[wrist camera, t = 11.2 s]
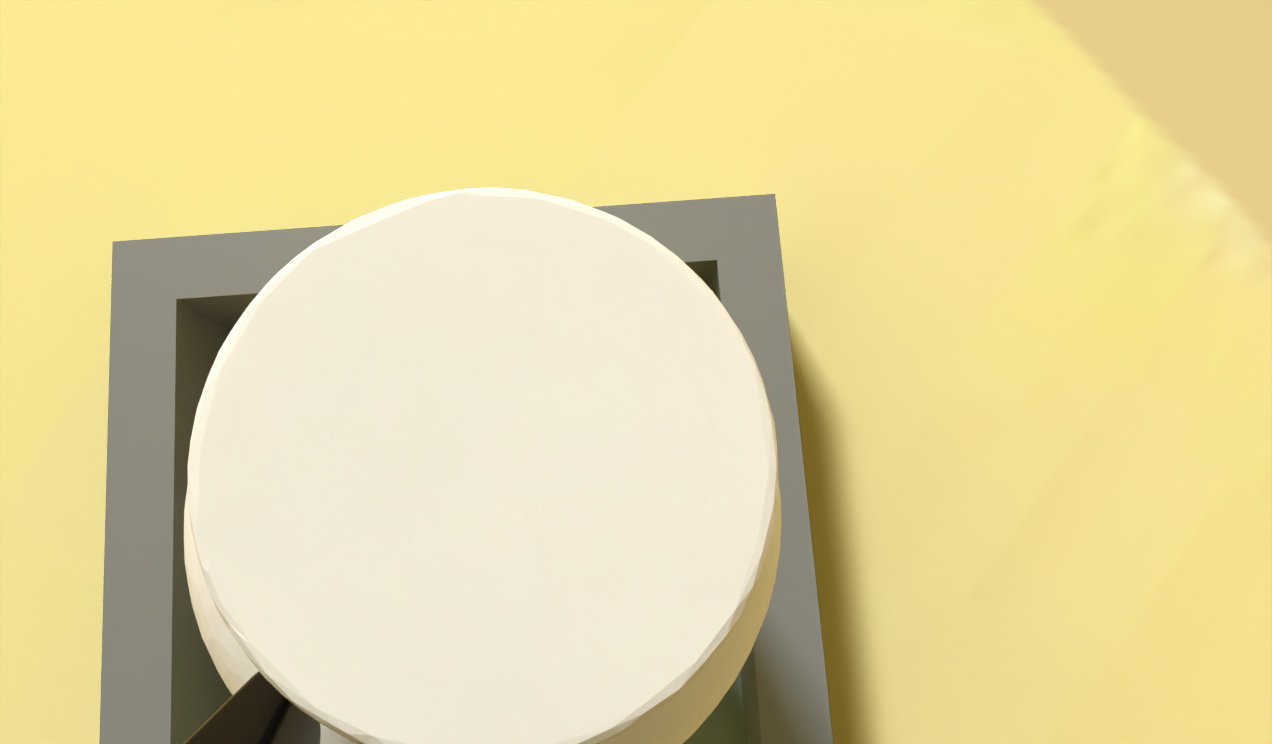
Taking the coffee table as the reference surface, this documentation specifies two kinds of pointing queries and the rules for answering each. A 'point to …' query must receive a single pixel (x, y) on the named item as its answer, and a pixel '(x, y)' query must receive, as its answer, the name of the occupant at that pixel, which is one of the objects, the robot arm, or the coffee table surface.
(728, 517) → the supplement bottle
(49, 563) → the coffee table surface
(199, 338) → the grey tray
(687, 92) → the coffee table surface
